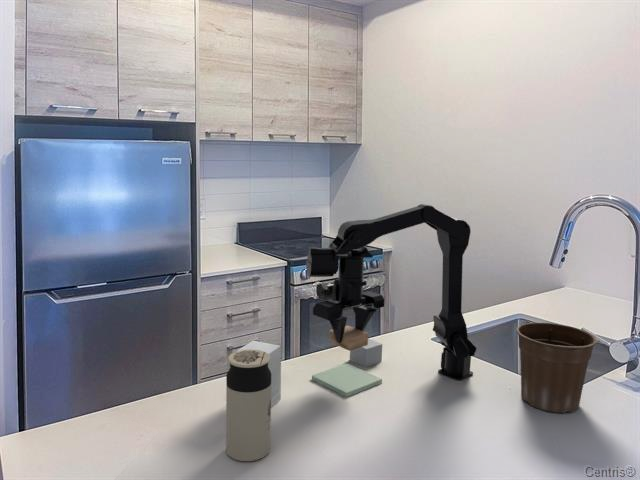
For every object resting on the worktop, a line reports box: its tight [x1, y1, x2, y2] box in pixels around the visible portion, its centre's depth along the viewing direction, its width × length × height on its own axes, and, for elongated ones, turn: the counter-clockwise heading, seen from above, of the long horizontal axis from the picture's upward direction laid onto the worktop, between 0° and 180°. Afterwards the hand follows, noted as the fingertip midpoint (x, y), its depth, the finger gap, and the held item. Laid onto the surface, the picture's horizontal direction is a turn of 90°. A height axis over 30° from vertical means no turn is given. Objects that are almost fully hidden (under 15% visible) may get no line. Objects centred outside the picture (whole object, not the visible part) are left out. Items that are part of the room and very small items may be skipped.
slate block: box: [349, 338, 383, 368], centre depth 137 cm, size 6×6×5 cm
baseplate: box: [311, 363, 383, 398], centre depth 125 cm, size 12×12×1 cm
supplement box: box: [235, 340, 282, 408], centre depth 111 cm, size 7×7×13 cm
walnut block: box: [328, 324, 369, 352], centre depth 123 cm, size 7×6×3 cm
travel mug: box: [225, 350, 272, 462], centre depth 93 cm, size 8×8×18 cm
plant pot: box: [516, 322, 598, 414], centre depth 116 cm, size 16×16×16 cm
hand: (348, 339), depth 123 cm, fingers closed on walnut block, 6 cm apart
